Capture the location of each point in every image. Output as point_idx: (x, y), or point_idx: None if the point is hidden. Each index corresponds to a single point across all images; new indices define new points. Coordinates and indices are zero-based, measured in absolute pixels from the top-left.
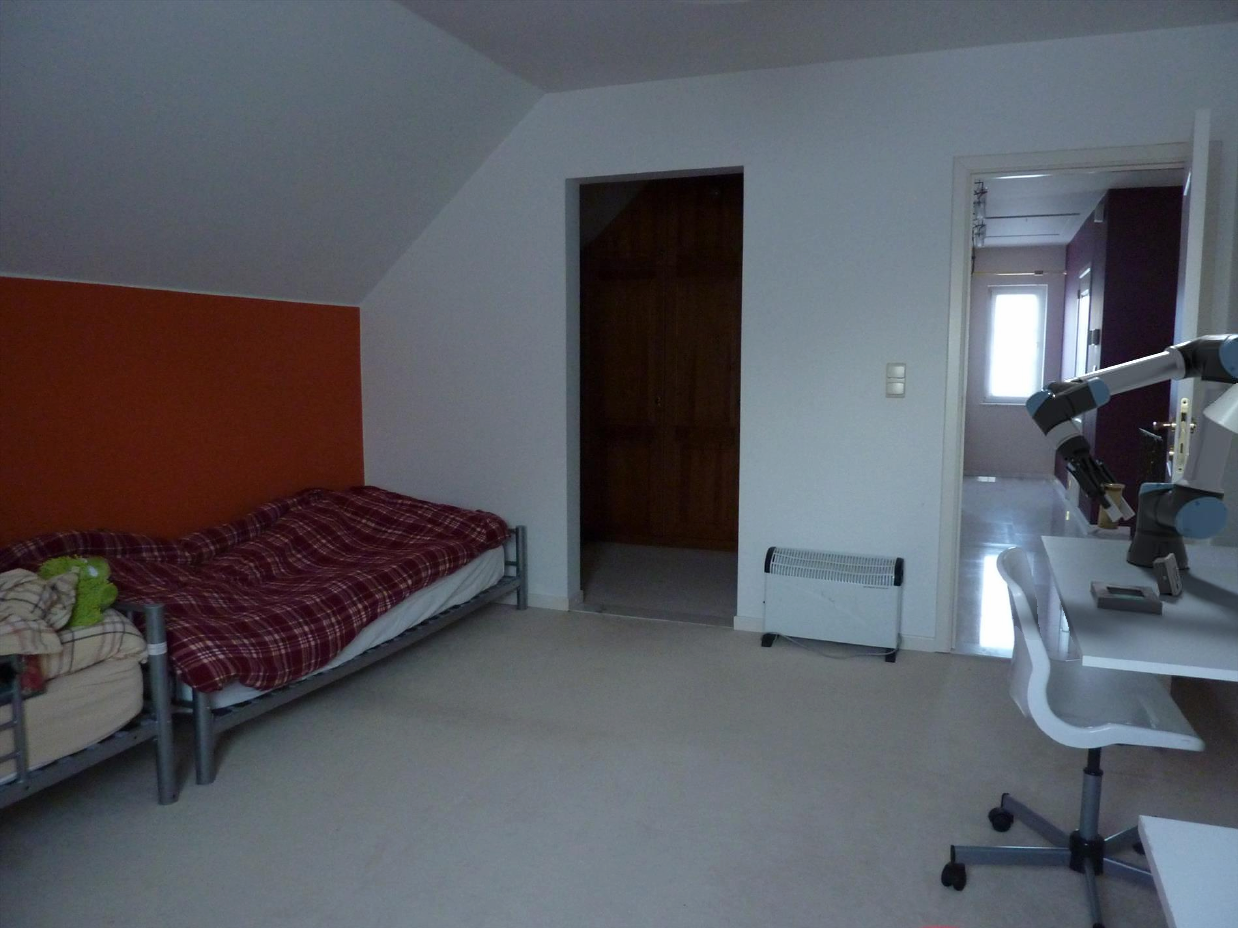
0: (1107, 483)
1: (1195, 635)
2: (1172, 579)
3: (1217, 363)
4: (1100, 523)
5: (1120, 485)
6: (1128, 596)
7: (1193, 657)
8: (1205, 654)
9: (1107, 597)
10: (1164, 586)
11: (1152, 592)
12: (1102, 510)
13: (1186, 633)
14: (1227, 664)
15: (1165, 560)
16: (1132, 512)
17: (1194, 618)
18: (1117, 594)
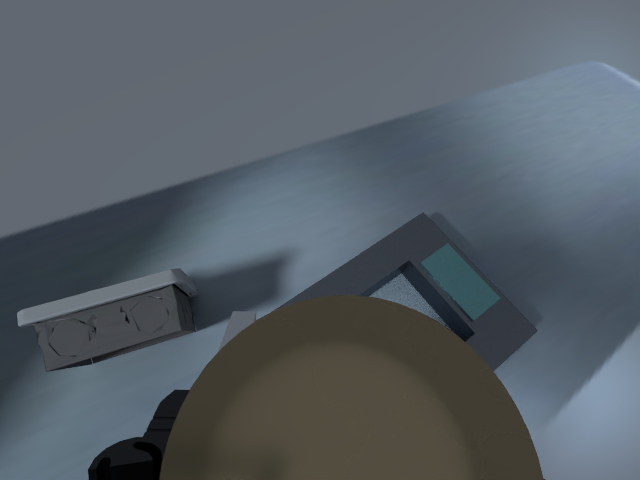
0: None
1: (488, 135)
2: (189, 279)
3: None
4: None
5: (329, 347)
6: (455, 284)
7: (600, 96)
8: (567, 93)
9: (516, 313)
10: (189, 313)
11: (333, 278)
12: None
13: (493, 147)
14: (574, 65)
15: (180, 278)
16: (247, 319)
17: (372, 179)
18: (467, 311)
